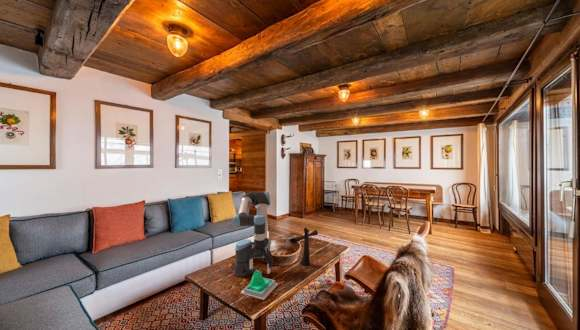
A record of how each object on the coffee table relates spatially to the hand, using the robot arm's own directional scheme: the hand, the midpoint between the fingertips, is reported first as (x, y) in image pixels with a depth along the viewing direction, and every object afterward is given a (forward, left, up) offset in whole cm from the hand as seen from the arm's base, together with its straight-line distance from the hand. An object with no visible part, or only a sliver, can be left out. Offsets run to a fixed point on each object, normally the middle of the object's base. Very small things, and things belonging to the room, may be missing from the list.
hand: (259, 270), depth 150 cm
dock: (0, 0, -12) cm, 12 cm away
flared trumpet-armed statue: (+14, +46, -12) cm, 49 cm away
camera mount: (0, 0, -11) cm, 11 cm away
